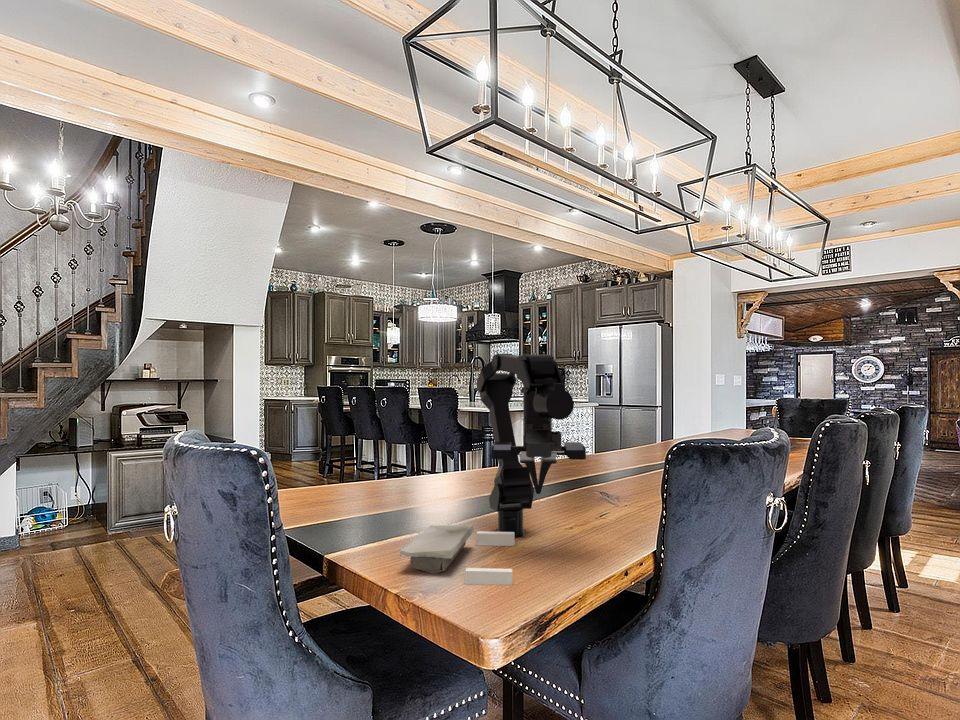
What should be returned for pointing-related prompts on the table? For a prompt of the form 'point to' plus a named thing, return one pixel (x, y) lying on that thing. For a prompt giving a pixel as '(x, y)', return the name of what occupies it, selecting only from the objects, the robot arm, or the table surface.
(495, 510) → the robot arm
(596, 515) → the table surface
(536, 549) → the table surface
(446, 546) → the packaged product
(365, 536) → the table surface
